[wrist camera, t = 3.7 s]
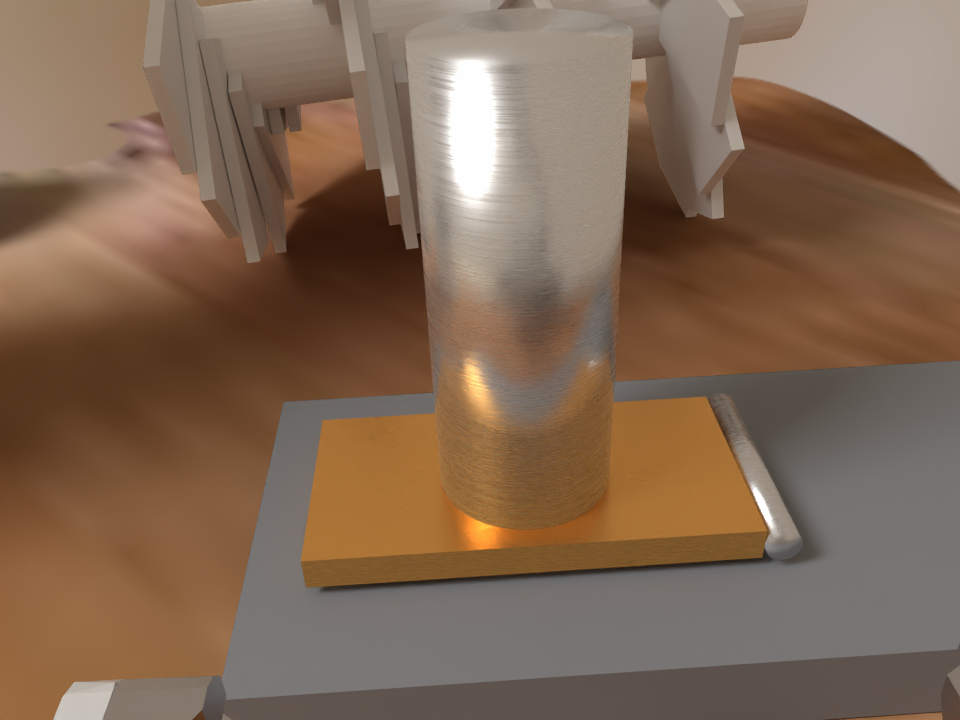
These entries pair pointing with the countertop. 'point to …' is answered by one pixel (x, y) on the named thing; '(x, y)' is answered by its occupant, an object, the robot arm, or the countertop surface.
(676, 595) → the board
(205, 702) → the robot arm
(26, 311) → the countertop surface
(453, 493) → the metal post on plate
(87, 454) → the countertop surface
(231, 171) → the spiral staircase
